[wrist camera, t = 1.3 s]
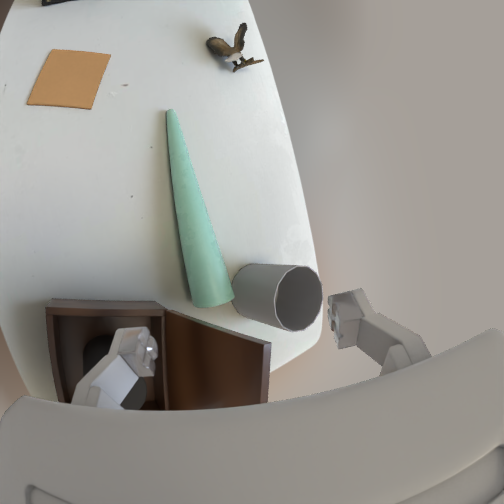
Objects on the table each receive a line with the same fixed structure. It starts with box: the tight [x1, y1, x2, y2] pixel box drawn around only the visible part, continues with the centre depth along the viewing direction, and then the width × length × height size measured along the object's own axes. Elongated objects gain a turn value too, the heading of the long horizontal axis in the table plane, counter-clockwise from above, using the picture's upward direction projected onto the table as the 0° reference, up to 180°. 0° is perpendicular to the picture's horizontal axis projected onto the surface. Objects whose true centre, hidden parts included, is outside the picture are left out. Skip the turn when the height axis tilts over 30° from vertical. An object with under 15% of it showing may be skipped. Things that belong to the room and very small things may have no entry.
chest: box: [45, 298, 170, 411], centre depth 27 cm, size 14×15×6 cm
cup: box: [232, 264, 323, 332], centre depth 38 cm, size 8×8×10 cm
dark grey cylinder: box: [83, 335, 147, 410], centre depth 25 cm, size 6×6×9 cm
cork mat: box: [27, 49, 111, 109], centre depth 25 cm, size 10×10×1 cm
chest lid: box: [166, 310, 271, 411], centre depth 23 cm, size 14×15×1 cm
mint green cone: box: [167, 109, 235, 308], centre depth 33 cm, size 5×6×27 cm
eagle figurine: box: [207, 23, 264, 72], centre depth 36 cm, size 8×7×9 cm
